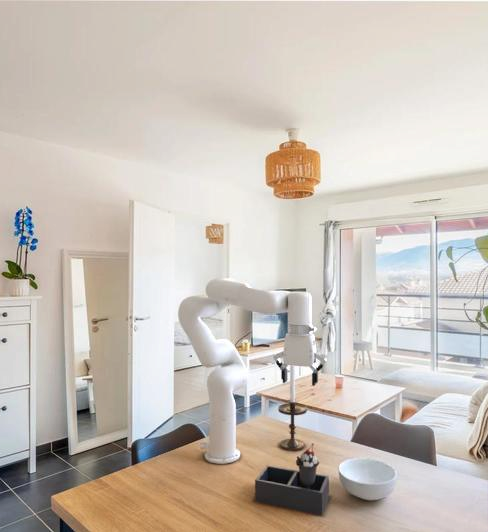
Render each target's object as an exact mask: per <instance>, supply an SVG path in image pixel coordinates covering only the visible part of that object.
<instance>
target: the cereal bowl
mask: <svg viewBox="0 0 488 532" xmlns="http://www.w3.org/2000/svg"><path fill="white" fill-rule="evenodd" d="M397 476H398V475H397V471H396V469H395V468H394V467H393V466H391V464H389V463H387V462H384V461H382V460H379V459H375V458H370V457H369V458H368V457H352V458H348V459H345V460H344V461H342V462H341V463H340V464H339V466H338V478H339V482H340V484H341V486H342V487H343V488H344V490H345V491H346V492H348V493H349V494H351V496H352V495H353V497H354V496H355V497H357V498H359V499H361V500H364V501H378V500H380V499H384V498H387V497H388V496H390V495H391V494H392V493H393V492H394V491H395V489H396V487H397V483H398V482H397V481H398V477H397Z"/></svg>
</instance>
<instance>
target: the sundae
mask: <svg viewBox="0 0 488 532" xmlns="http://www.w3.org/2000/svg"><path fill="white" fill-rule="evenodd" d="M314 445H315V443H311V445H310V446H309V448H307V449H306V450H305V451H303V452H302V453H301V454H300V456H296V460H295V465H296V466H298V471H299V472H300V479H301V482H302V483H303V484H304V485H305V486H306V489H310V486H311V485H312V484H313V483H314V481H315V476H316V474H317V470H318V469H317V468H318V467H319V465H320V461H319V460H318V459H317V457H316V456H315V452H314V449H313V447H314ZM310 449H311V451H310Z"/></svg>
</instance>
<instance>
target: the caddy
mask: <svg viewBox="0 0 488 532" xmlns="http://www.w3.org/2000/svg"><path fill="white" fill-rule="evenodd" d="M329 497H330V476H329V475H325V474H319V473H316V476H315V481H314V483H313V484H312V485H311V486H310V489H306V486H305V485H304V484H303V483H302V482H301V479H300V472H299V470H297V469H292V468H287V467H286V468H285V467H281V466H280V467H279V466H273V465H268V464H266V465H265V466H264V468H263V469H262V470H261V472H260V473H259V475H258V476H257V477H256V479H254V502H256V503H261V504H265V505H270V506H275V507H279V508H284V509H289V510H293V511H299V512H302V513H303V512H304V513H307V514H311V515H312V514H313V515H317V516H322V517H323V515H324V511H325V509H326V507H327V504H328V501H329Z"/></svg>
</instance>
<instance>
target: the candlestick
mask: <svg viewBox="0 0 488 532" xmlns="http://www.w3.org/2000/svg"><path fill="white" fill-rule="evenodd" d="M287 402H288V403H283V404H280V405H279V406H278V412H279V413H280V414H282V415H286V416H290V423H289V425H288V428H289V429H290V431H288V432H289V434H290V438H287V439H282V440H281V442H280V448H282V449H283V450H285V451H288V452H289V451H290V452H299V451H302V450H304V448H305V442H304V441H303V440H301V439H297V438H295V435H296V433H297V432H296V431H295V430H296V428H297V425H296V424H295V416H302V415H305V414H307V413H308V412H307V411H308V408H307V406H305V405H303V404H300V403H298V400H297V399H296V366H293V365H289V399H288V400H287Z"/></svg>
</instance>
